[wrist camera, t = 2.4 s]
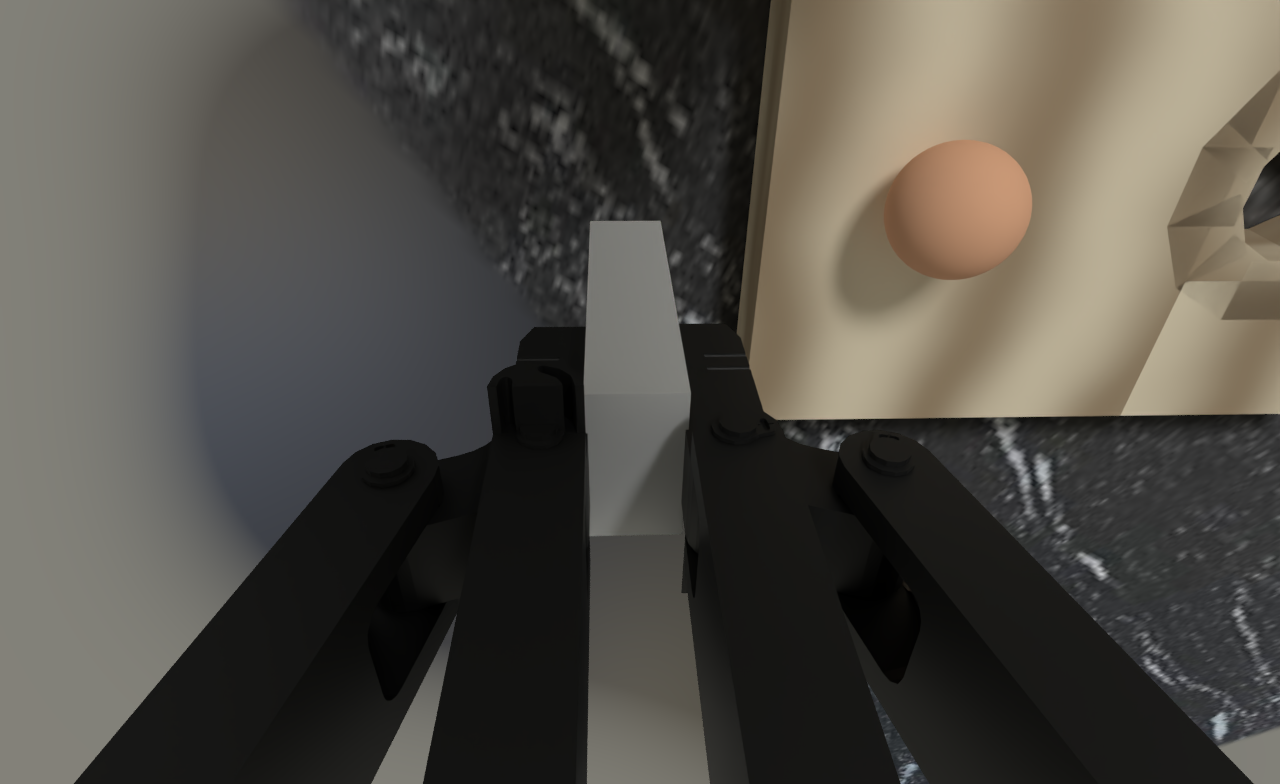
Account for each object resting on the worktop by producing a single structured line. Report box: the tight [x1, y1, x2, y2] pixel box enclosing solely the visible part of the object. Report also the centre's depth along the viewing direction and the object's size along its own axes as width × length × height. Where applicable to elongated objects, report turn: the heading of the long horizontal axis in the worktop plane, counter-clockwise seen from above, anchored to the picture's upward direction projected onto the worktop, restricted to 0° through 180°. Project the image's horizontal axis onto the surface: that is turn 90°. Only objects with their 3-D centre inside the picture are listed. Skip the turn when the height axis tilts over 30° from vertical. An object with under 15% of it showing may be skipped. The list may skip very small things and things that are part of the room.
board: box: [737, 0, 1280, 420], centre depth 22 cm, size 22×16×2 cm
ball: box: [884, 140, 1032, 280], centre depth 19 cm, size 4×4×4 cm
